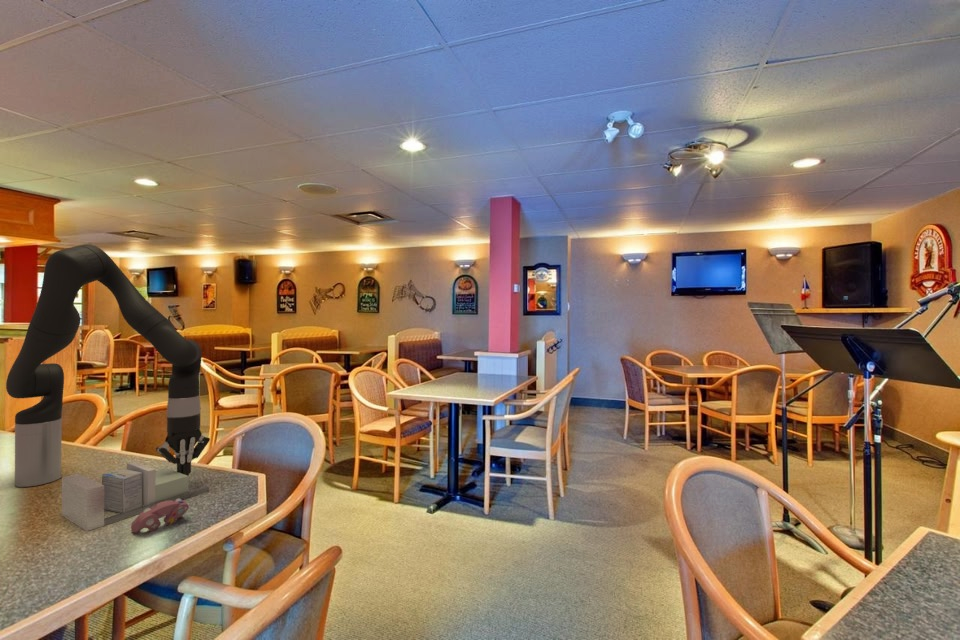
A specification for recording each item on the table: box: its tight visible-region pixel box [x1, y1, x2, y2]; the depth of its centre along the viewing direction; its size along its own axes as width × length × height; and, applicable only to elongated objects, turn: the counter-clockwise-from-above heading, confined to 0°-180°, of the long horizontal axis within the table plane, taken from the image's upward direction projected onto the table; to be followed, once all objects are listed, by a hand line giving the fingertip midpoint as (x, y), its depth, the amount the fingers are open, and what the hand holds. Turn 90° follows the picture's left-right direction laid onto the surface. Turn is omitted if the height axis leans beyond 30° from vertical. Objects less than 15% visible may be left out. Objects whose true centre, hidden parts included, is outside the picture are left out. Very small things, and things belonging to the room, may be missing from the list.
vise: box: [61, 472, 210, 532], centre depth 108 cm, size 15×26×9 cm, turn 150°
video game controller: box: [130, 498, 190, 534], centre depth 96 cm, size 10×5×7 cm, turn 149°
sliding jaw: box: [126, 461, 189, 506], centre depth 111 cm, size 12×9×9 cm
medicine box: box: [101, 468, 143, 514], centre depth 105 cm, size 8×4×9 cm, turn 71°
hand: (183, 476), depth 117 cm, fingers closed
